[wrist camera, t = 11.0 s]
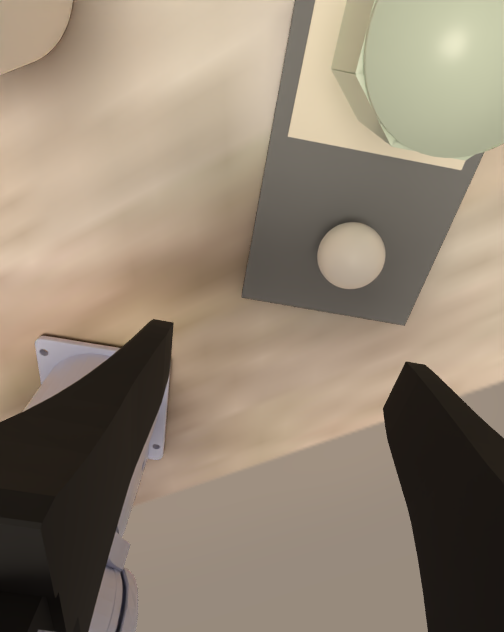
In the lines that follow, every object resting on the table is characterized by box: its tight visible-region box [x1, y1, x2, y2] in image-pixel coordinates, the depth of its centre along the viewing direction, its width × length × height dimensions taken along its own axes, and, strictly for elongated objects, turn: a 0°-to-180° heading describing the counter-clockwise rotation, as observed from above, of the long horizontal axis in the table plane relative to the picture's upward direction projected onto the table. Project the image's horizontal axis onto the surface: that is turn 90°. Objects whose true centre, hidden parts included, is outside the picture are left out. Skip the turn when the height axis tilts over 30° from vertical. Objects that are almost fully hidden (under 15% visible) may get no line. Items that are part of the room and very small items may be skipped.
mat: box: [242, 0, 484, 326], centre depth 18 cm, size 16×9×1 cm, turn 170°
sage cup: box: [331, 0, 504, 160], centre depth 13 cm, size 5×5×6 cm
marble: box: [317, 222, 385, 289], centre depth 18 cm, size 3×3×3 cm
